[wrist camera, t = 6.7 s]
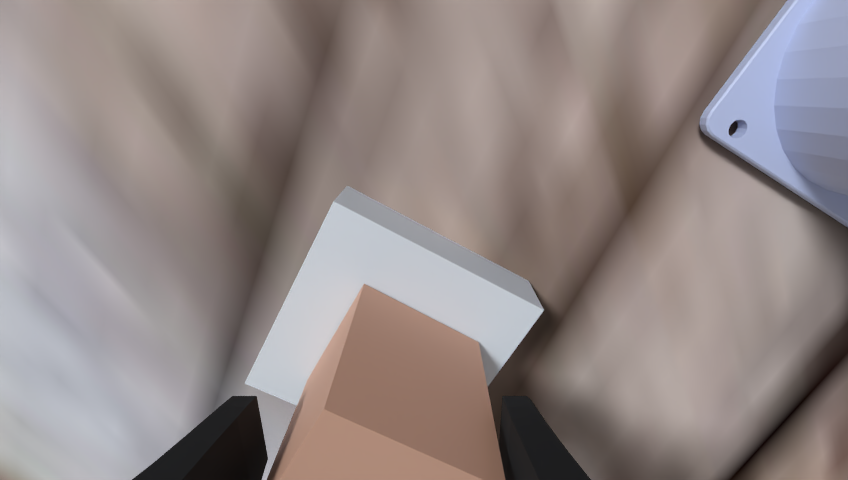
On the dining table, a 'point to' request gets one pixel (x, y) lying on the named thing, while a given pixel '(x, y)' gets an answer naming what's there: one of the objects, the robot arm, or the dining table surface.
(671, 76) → the dining table surface
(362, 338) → the column block
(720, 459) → the dining table surface
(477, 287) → the foundation slab
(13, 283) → the dining table surface
